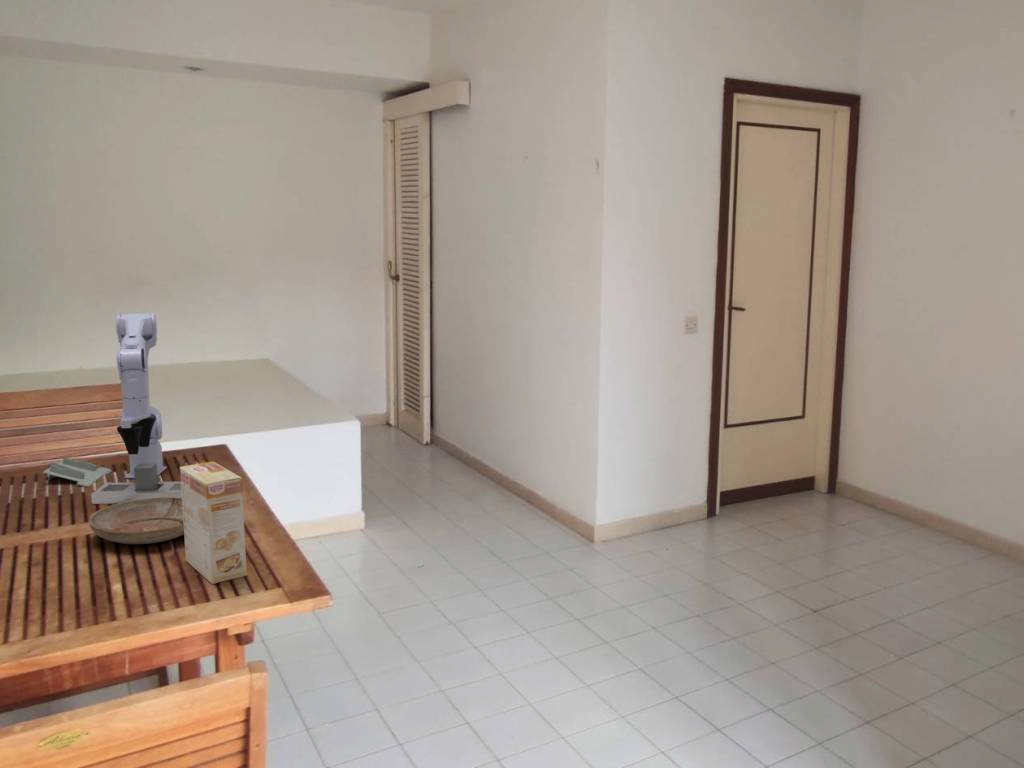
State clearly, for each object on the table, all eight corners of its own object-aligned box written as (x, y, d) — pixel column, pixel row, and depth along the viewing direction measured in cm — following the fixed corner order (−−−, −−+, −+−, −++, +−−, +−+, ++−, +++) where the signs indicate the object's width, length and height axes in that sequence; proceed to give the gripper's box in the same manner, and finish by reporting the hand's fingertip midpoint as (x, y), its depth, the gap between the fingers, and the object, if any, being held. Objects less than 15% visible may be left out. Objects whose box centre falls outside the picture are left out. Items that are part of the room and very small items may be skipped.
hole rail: (107, 492, 210) (106, 482, 210) (205, 490, 212) (204, 481, 212) (92, 503, 202) (91, 493, 201) (194, 501, 203) (194, 491, 203)
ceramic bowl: (147, 562, 167) (145, 538, 166) (66, 543, 177) (63, 520, 176) (231, 526, 187) (230, 504, 187) (154, 511, 197) (153, 490, 196)
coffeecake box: (248, 575, 160) (243, 477, 157) (211, 585, 156) (204, 484, 152) (220, 552, 172) (214, 460, 168) (184, 560, 167) (177, 466, 164)
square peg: (142, 494, 209) (139, 463, 207) (158, 494, 209) (156, 463, 207) (136, 500, 205) (133, 468, 203) (153, 499, 205) (150, 467, 204)
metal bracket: (37, 466, 213) (63, 451, 228) (32, 488, 214) (59, 471, 229) (94, 481, 215) (117, 465, 230) (89, 502, 216) (112, 484, 230)
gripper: (129, 392, 215) (133, 443, 217) (106, 402, 201) (110, 457, 203) (157, 391, 215) (161, 443, 218) (136, 402, 201) (141, 457, 203)
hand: (138, 450), depth 210 cm, fingers open, 7 cm apart
